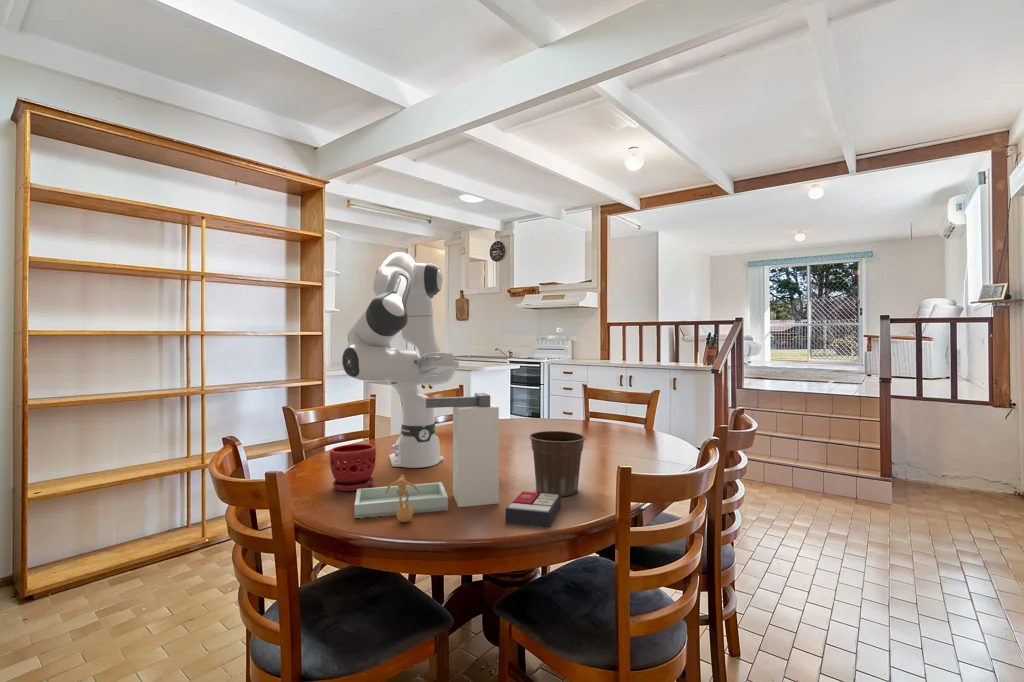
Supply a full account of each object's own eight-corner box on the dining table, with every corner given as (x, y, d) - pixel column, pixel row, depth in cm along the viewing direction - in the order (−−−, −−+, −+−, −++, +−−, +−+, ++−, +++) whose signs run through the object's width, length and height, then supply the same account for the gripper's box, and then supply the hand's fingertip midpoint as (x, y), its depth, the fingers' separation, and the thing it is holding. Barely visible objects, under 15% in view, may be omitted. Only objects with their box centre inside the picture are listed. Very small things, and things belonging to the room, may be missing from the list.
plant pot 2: (568, 479, 151) (568, 428, 150) (596, 495, 136) (596, 438, 136) (520, 486, 144) (520, 432, 144) (544, 503, 129) (544, 443, 129)
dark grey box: (561, 493, 127) (549, 510, 113) (560, 509, 127) (549, 528, 113) (521, 490, 130) (505, 505, 116) (521, 506, 130) (504, 523, 116)
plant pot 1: (384, 483, 148) (384, 444, 147) (355, 496, 135) (355, 453, 135) (350, 478, 152) (350, 440, 152) (319, 490, 140) (319, 449, 140)
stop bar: (424, 405, 132) (424, 394, 132) (485, 403, 137) (485, 392, 137) (427, 409, 125) (427, 397, 125) (490, 406, 130) (490, 395, 130)
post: (453, 495, 136) (452, 403, 136) (490, 491, 139) (490, 402, 139) (458, 507, 126) (458, 408, 126) (498, 503, 129) (498, 407, 129)
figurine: (423, 518, 118) (423, 470, 118) (417, 528, 112) (417, 477, 112) (390, 518, 119) (390, 469, 118) (382, 527, 113) (382, 476, 112)
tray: (357, 501, 131) (357, 488, 131) (441, 494, 137) (441, 482, 136) (354, 519, 118) (354, 504, 118) (447, 510, 124) (447, 496, 124)
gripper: (427, 344, 120) (469, 349, 130) (384, 363, 134) (425, 366, 143) (429, 368, 119) (471, 371, 128) (385, 385, 132) (426, 386, 142)
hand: (446, 368), depth 136 cm, fingers open, 8 cm apart
